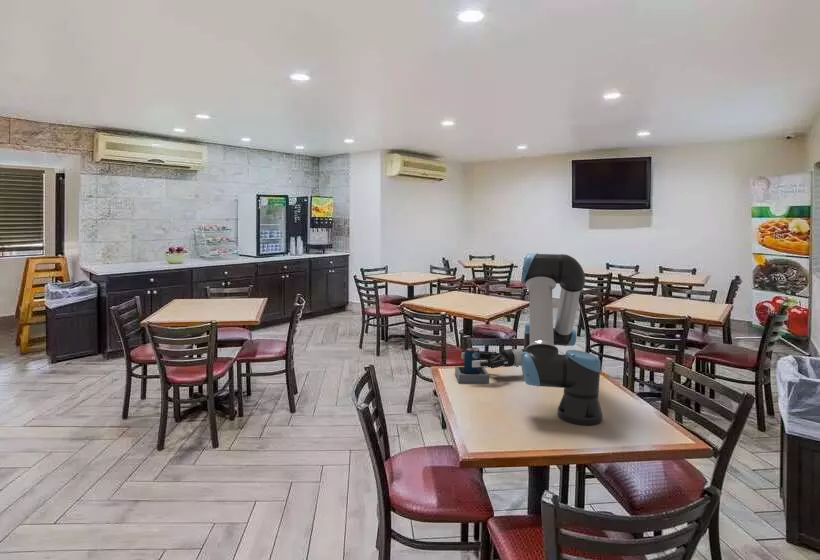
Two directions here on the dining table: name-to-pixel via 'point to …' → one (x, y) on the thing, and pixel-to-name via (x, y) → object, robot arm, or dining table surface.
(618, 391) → the dining table surface
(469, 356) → the soda can
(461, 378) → the drink tray
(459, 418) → the dining table surface
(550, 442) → the dining table surface
